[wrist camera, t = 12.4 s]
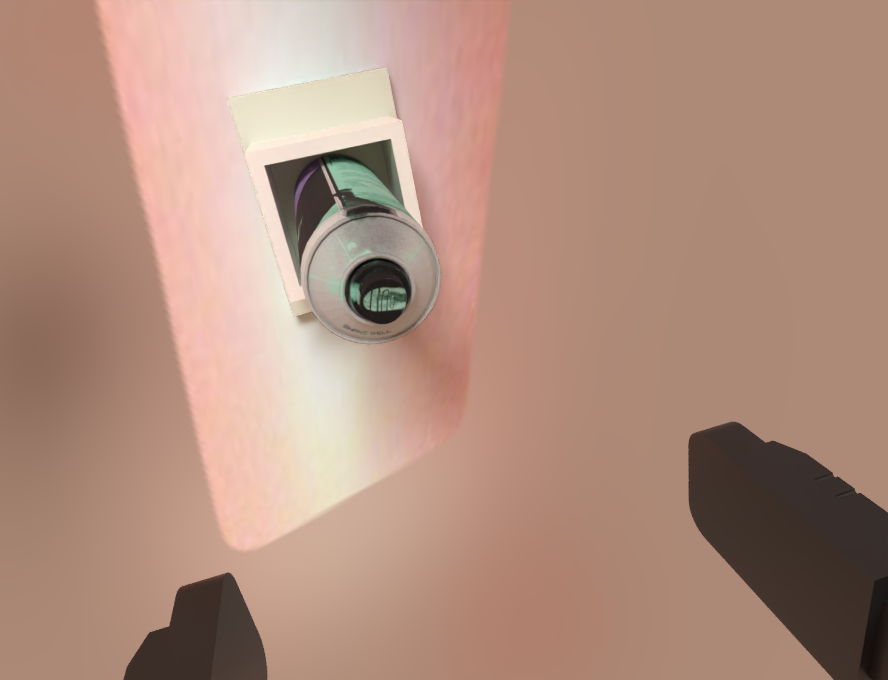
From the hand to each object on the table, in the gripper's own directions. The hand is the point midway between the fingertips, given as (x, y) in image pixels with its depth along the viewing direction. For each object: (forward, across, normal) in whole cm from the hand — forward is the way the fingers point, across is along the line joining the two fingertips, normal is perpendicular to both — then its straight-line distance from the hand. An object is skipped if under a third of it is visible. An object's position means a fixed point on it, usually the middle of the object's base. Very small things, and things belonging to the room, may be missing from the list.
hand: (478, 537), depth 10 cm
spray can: (+32, 0, 0) cm, 32 cm away
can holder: (+33, 0, 0) cm, 33 cm away
